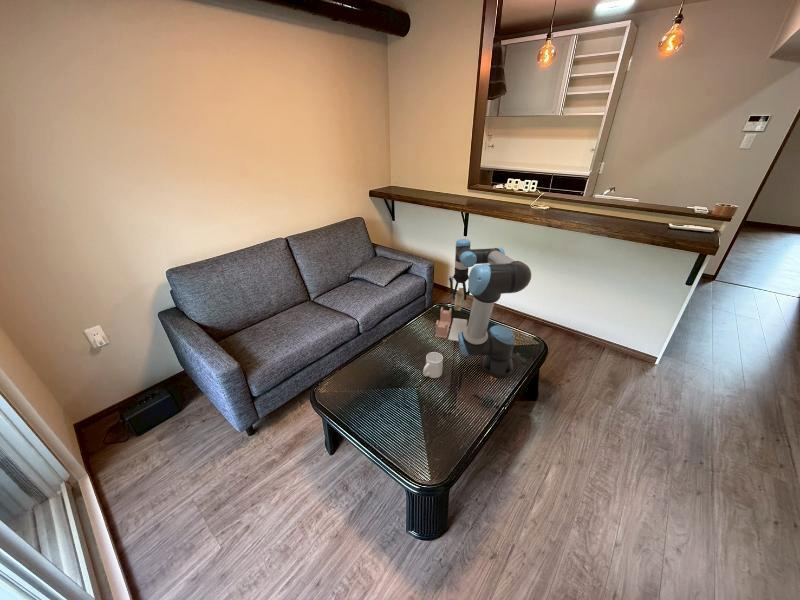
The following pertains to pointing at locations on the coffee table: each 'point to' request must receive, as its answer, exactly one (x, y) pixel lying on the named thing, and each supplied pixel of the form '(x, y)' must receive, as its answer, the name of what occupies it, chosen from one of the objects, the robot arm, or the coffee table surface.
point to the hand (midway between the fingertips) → (459, 304)
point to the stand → (443, 323)
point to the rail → (459, 299)
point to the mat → (456, 328)
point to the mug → (433, 365)
